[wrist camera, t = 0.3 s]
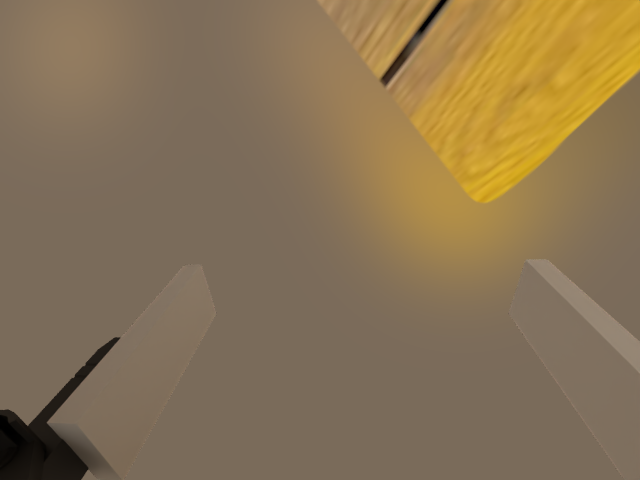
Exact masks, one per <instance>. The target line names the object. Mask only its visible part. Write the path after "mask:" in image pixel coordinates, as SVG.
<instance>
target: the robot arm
mask: <svg viewBox="0 0 640 480" xmlns="http://www.w3.org/2000/svg"><path fill="white" fill-rule="evenodd" d="M215 315H216V310H215V307H214V304H213V301H212V297H211V294H210V291H209V288H208V284H207V281H206V278H205V275H204V272H203V269H202V265H184V266H183V267H182V268H181V270H180V271H179V272H178V273H177V274H176V275H175V276H174V278H173V279H172V280H171V281H170V282H169V283H168V284H167V286H166V287H165V288H164V289H163V290H162V291H161V292H160V294H159V295H158V296H157V297H156V298H155V299H154V300H153V302H152V303H151V304H150V305H149V306H148V307H147V309H146V310H145V311H144V312H143V313H142V314H141V315H140V316H139V318H138V319H137V320H136V321H135V322H134V323H133V324H132V326H131V327H130V328H129V329H128V330H127V331H126V333H125V334H124V335H123V336H122V337H121V338H117V337H116V338H113V339H112V340H111V341H109V342H108V343H107V344H105V345H104V346H102V347H101V348H100V349H98V350H97V352H96V353H95V354H94V355H93V356H92V357H91V358H90V359H89V360H88V361H87V362H86V365H85V366H83V367H82V368H81V369H80V370H79V371H78V372H77V373H76V374H75V377H74V378H72V379H71V380H70V381H69V382H68V383H67V384H66V385H65V386H64V388H62V390H61V391H60V392H59V393H58V394H57V395H56V396H55V397H54V398H53V399H52V400H51V402H50V403H49V404H48V405H47V406H46V407H45V408H44V409H43V410H42V411H41V412H40V414H39V415H38V416H37V417H36V418H35V419H34V420H33V421H32V422H31V423H30V424H29V426H27V425H26V424H25V423H24V422H23V421H22V420H21V419H20V418H19V417H18V416H17V415H16V414H15V413H14V412H12V411H10V410H0V480H81V479H82V478H83V476H84V474H85V473H86V471H87V470H88V469H89V470H90V471H91V473H92V474H93V475H94V476H95V477H96V478H97V479H98V480H124V479H125V477H126V475H127V473H128V472H129V470H130V468H131V466H132V464H133V463H134V461H135V459H136V457H137V455H138V454H139V452H140V450H141V448H142V446H143V445H144V443H145V441H146V439H147V437H148V436H149V434H150V432H151V430H152V428H153V427H154V425H155V423H156V421H157V419H158V418H159V416H160V414H161V412H162V410H163V408H164V407H165V405H166V403H167V401H168V400H169V398H170V396H171V394H172V392H173V391H174V389H175V387H176V385H177V383H178V382H179V380H180V378H181V376H182V374H183V372H184V371H185V369H186V367H187V365H188V363H189V362H190V360H191V358H192V356H193V355H194V353H195V351H196V349H197V347H198V346H199V344H200V342H201V340H202V338H203V336H204V335H205V333H206V331H207V329H208V328H209V326H210V324H211V322H212V320H213V319H214V317H215ZM509 315H510V316H511V318H512V320H513V321H514V322H515V324H516V325H517V327H518V328H519V330H520V331H521V332H522V334H523V335H524V337H525V338H526V339H527V341H528V342H529V344H530V345H531V347H532V348H533V349H534V351H535V352H536V354H537V355H538V357H539V358H540V360H541V361H542V363H543V364H544V365H545V367H546V368H547V370H548V371H549V373H550V374H551V375H552V377H553V378H554V380H555V381H556V382H557V384H558V385H559V387H560V388H561V390H562V391H563V392H564V394H565V395H566V397H567V398H568V400H569V401H570V403H571V404H572V406H573V407H574V408H575V410H576V411H577V413H578V414H579V416H580V417H581V418H582V420H583V421H584V423H585V424H586V425H587V427H588V428H589V430H590V431H591V433H592V434H593V436H594V437H595V438H596V440H597V441H598V443H599V444H600V446H601V447H602V448H603V450H604V451H605V453H606V454H607V456H608V457H609V458H610V460H611V461H612V463H613V464H614V466H615V467H616V469H617V470H618V471H619V473H620V474H621V475H622V477H623V479H624V480H640V342H639V341H638V340H637V339H636V338H635V337H634V336H632V335H631V334H630V333H629V332H628V331H627V330H626V329H625V328H623V327H622V326H621V325H620V324H619V323H618V322H617V321H616V320H614V319H613V318H612V317H611V316H610V315H609V314H608V313H607V312H606V311H604V310H603V309H602V308H601V307H600V306H599V305H597V303H595V302H594V301H593V300H592V299H591V298H590V297H589V296H588V295H586V294H585V293H584V292H583V291H582V290H581V289H580V288H579V287H577V286H576V285H575V284H574V283H573V282H572V281H571V280H570V279H568V278H567V277H566V276H565V275H564V274H563V273H562V272H560V271H559V270H558V269H557V268H556V267H555V266H554V265H553V264H551V263H550V262H549V261H548V260H547V259H545V260H544V259H543V260H525V263H524V267H523V270H522V273H521V276H520V279H519V282H518V286H517V289H516V292H515V295H514V298H513V301H512V304H511V307H510V310H509Z"/></svg>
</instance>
